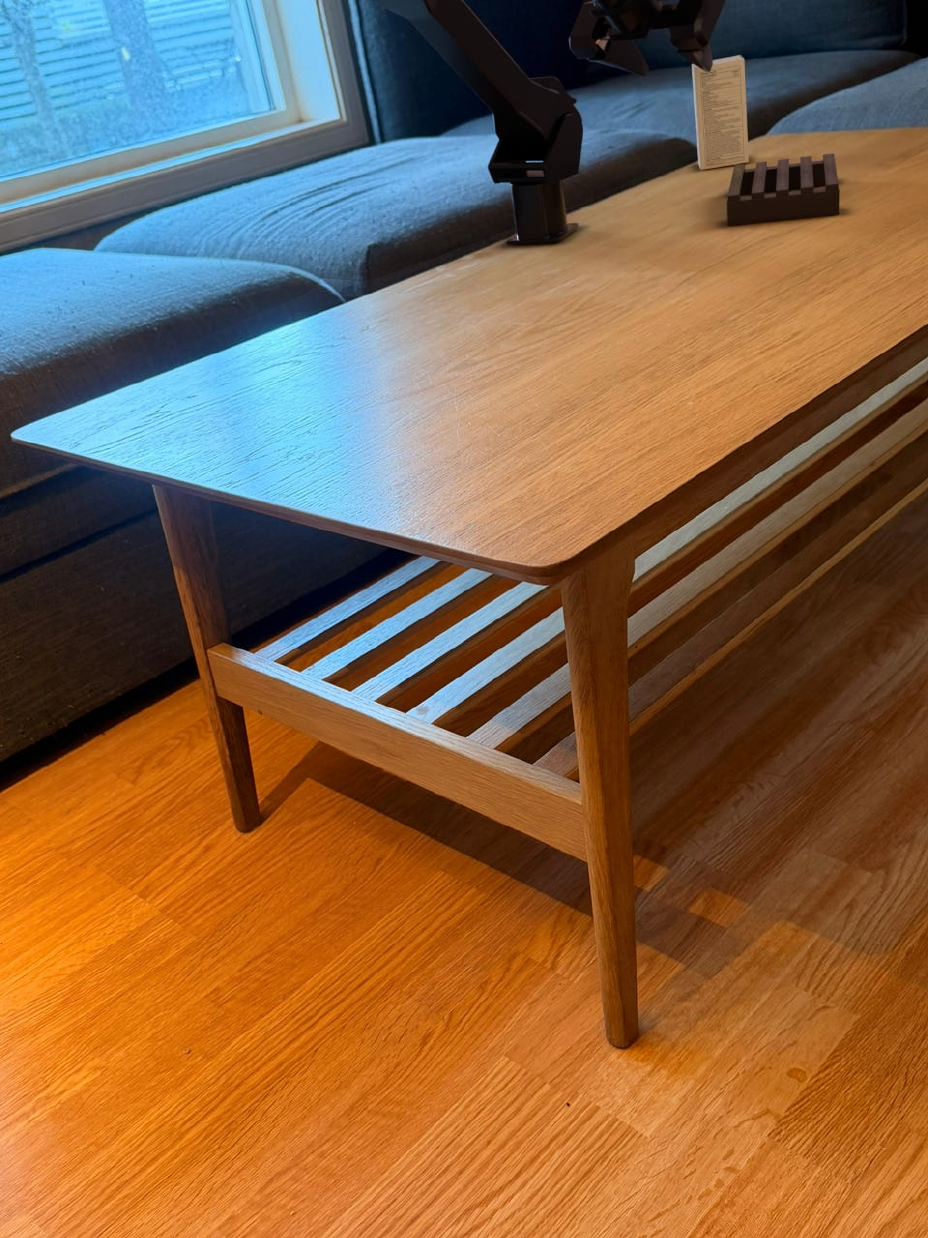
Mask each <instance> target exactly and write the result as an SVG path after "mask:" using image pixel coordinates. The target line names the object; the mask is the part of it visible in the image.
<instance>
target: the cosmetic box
mask: <svg viewBox="0 0 928 1238" xmlns="http://www.w3.org/2000/svg"><path fill="white" fill-rule="evenodd" d="M712 60H713V66H712V68H711V71H710V72H706V71H704V70H702V69H700V68H699V67H697V66H696V65H694V64H693V63H692V64H691V73H692V87H693V103H694V119H695V132H696V133H695V134H696V135H695V136H696V149H697V150H696V151H697V164H698V167H699V170H701V171H703V170H709V169H717V168H721V167H728V166H734V165H740V164H746V163H749V162H750V159H749V135H748V133H749V132H748V113H747V112H748V111H747V109H748V108H747V88H746V63H745V61H746V60H745V58H744V57H743V56H742V55H741V54H738V55H734V56H733V55H732V56H729V57H722V58H717V59H712Z"/></svg>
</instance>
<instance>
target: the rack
mask: <svg viewBox="0 0 928 1238" xmlns="http://www.w3.org/2000/svg"><path fill="white" fill-rule="evenodd" d="M799 161H800V162H796V163H790V158H785V159H783V158H782V159H778V160H777V165H770V166H768V161H757V162H756V163H755V167H753V168H746V163H740V164H736V165H733V169H732V174H731V179H730V183H729V188H728V192H727V195H726V197H727V198H726V225H727V227H732V226H742V225H751V224H761V223H770V222H779V221H790V220H791V221H792V220H801V219H808V218H810V219H811V218H818V217H828V216H837V215H838V216H839V215H840V197H841V196H840V194H841V193H840V189H841V188H840V186H839V185H840V184H839V178H838V177H839V176H838V171H837V165H836V157H835V153H832V152H831V153H825V154H822V160H813V157H812V155H808V156H800V158H799ZM823 186H825V187H823ZM814 187H820V188H814ZM795 189H796V191H795ZM797 189H800V190H797ZM789 190H794V191H789ZM768 192H769V193H768ZM770 192H775V193H770ZM767 193H768V194H767ZM742 195H750V196H742Z"/></svg>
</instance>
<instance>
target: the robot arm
mask: <svg viewBox="0 0 928 1238" xmlns="http://www.w3.org/2000/svg"><path fill="white" fill-rule="evenodd" d="M369 1H370V2H371V3H373V4H374V5H376V6H378V7H380V8H383V9H385V10H387V11H389V12H391V13H394V14H396V15H398V16H400V17H403V18H405V19H406V20H408V21H409V22H410V23H411V24H412V26H413V27H414V28H415V29H416V30H417V31H418V32H419V34H421V36H423V38H425V40H426V41H427V42H428V43H429V44H430V45H431V46H432V47H433V48H434V50H435V51H436V52H437V53H438V54H439V55H440V56H441V58H443V60H444V61H446V63H447V64H448V66H449V67H451V69H453V70H454V72H455V73H456V74H457V75H458V76H459V77H460V78H461V80H463V82H464V83H465V84H466V85H467V86H468V87H469V88H470V89H471V90H472V92H474V94H475V95H476V96H477V97H478V98H479V99H480V101H482V102H483V103H484V104H485V106H486V107H487V108H488V109H489V111H490V112H491V113H492V121H493V129H494V133H495V135H496V137H497V138H498V141H497V143H496V146H495V148H494V149H493V153H492V155H491V156H490V157H491V158H490V159H489V162H488V164H487V169H488V172H489V175H490V177H491V179H492V182H493V184H509V187H510V195H511V202H512V203H511V204H512V210H513V219H514V225H515V233H514V234H512V235H511V236H509V237H508V238H507V239H505V245H506V246H513V245H530V244H532V245H533V244H549V243H559V242H561V241H563V240H564V239H566V238H567V237H568V236H570V235H571V234H572V233H573V232H575V231H576V230H577V229H579V226H580V225H579V223H578V222H572V223H569V222H568V219H567V218H568V217H567V208H566V201H565V191H564V180H567V179H569V178H572V177H574V176H577V175H579V171H580V164H581V155H582V145H583V137H584V125H583V119H582V115H581V113H580V112H579V109H578V108H577V106H575V104H577V102H578V99H577V98H574V97H573V96H571V95H570V94H569V93H568V91H567V90H566V89H565V87H564V84H563V83H562V82H561V81H560V80H559V79H558V78H557V77H556V76H543V77H531V78H530V77H528V75H526V74H525V72H524V71H523V70H522V69H521V67H520V66H519V65H518V63H517V62H516V61H515V60H514V59H513V58H512V57H511V56H510V55H509V53H508V52H507V50H505V48H504V47H503V46H502V45H501V44H500V43H499V41H498V40H497V39H496V38H495V37H494V36H493V34H492V33H491V32H490V31H489V29H488V28H487V27H486V26H485V25H484V24H483V23H482V21H481V20H480V18H478V17H477V16H476V14H475V13H474V11H472V9H471V8H470V7H469V5H467V4H466V2H465V1H464V0H369ZM662 2H663V0H591V1H589V2H584V3H583V4H582V6H581V8H580V10H579V13H578V15H577V17H576V20H575V22H574V25H573V27H572V30H571V32H570V34H569V37H568V42H569V49H570V51H571V52H572V54H574V55H575V56H576V57H577V59H578V60H584V59H587V60H588V62H592V63H599V64H603V65H606V66H609V67H612V68H616V69H619V70H621V71H622V70H623V71H626V72H629V73H631V74H634V75H637V76H640V77H647V75H648V74H649V70H650V68H649V66H648V63H647V62H646V60H645V58H644V57H643V55H642V54H641V52H640V51H639V49H638V47H637V46H636V44H635V43H634V41H633V40H641V39H647V37H648V36H649V32H650V31H654V30H664V29H668V39H669V40H668V41H670V43H671V44H672V46H673V47H675V48H677V51H676V53H677V54H678V55H679V56H681V57H682V58H684V59H686V60H687V61H688V62H690V63H692V64H694V65H696V66H697V67H699V68H700V69H702V70H704V71H706V72H710V71H711V68H712V66H713V60H714V59H713V54H712V53H713V52H712V47H711V38H712V36H713V34H714V31H715V29H716V27H717V24H718V23H719V22H718V21H719V20H720V17H721V14H722V11H723V9H724V7H725V4H726V0H678V2H677V3H669V4H662Z"/></svg>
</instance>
